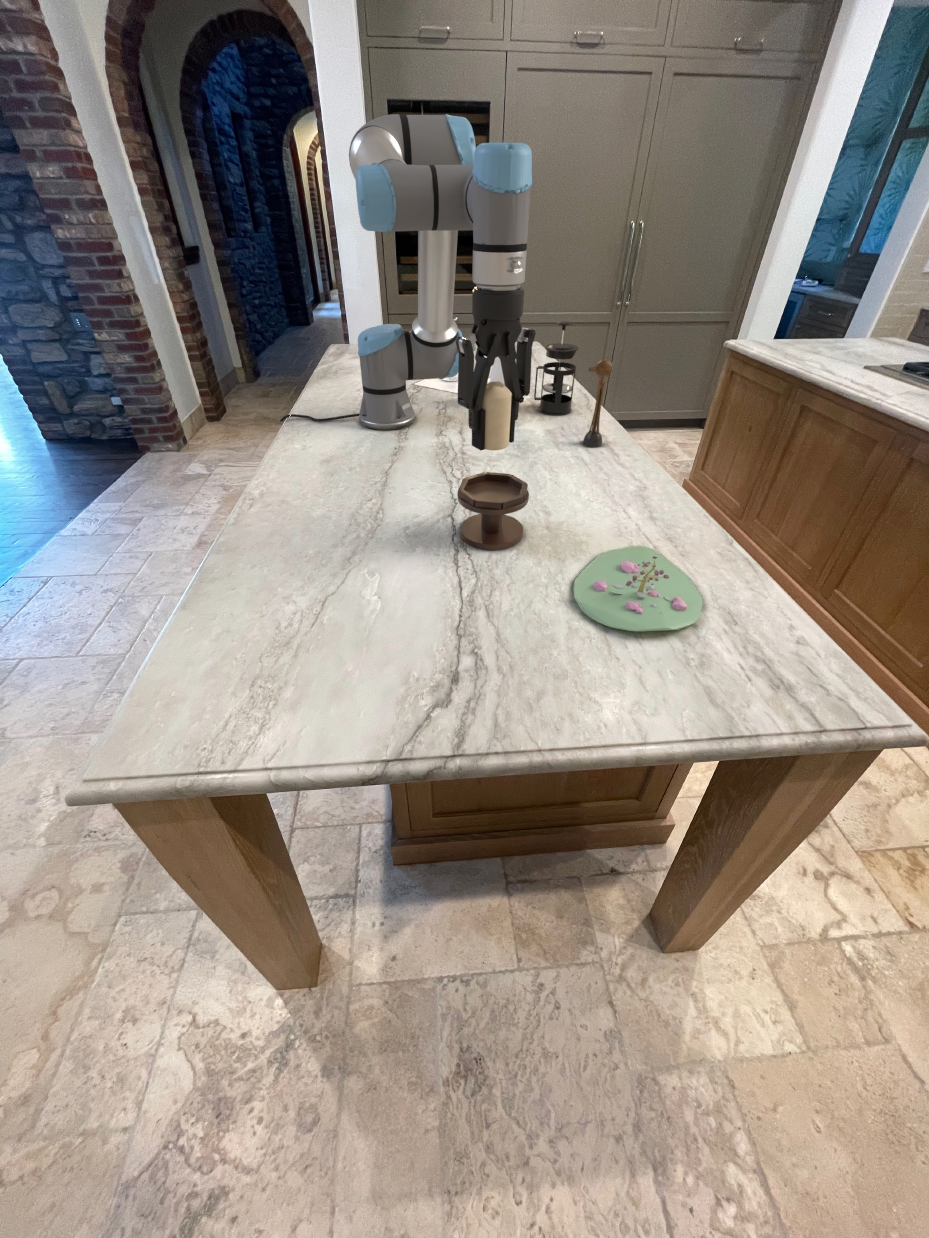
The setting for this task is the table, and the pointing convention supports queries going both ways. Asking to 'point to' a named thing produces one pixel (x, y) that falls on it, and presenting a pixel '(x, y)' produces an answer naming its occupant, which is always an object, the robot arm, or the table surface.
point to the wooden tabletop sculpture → (597, 404)
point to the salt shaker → (497, 372)
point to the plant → (637, 591)
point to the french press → (557, 378)
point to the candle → (497, 415)
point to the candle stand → (492, 510)
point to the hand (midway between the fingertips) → (492, 443)
